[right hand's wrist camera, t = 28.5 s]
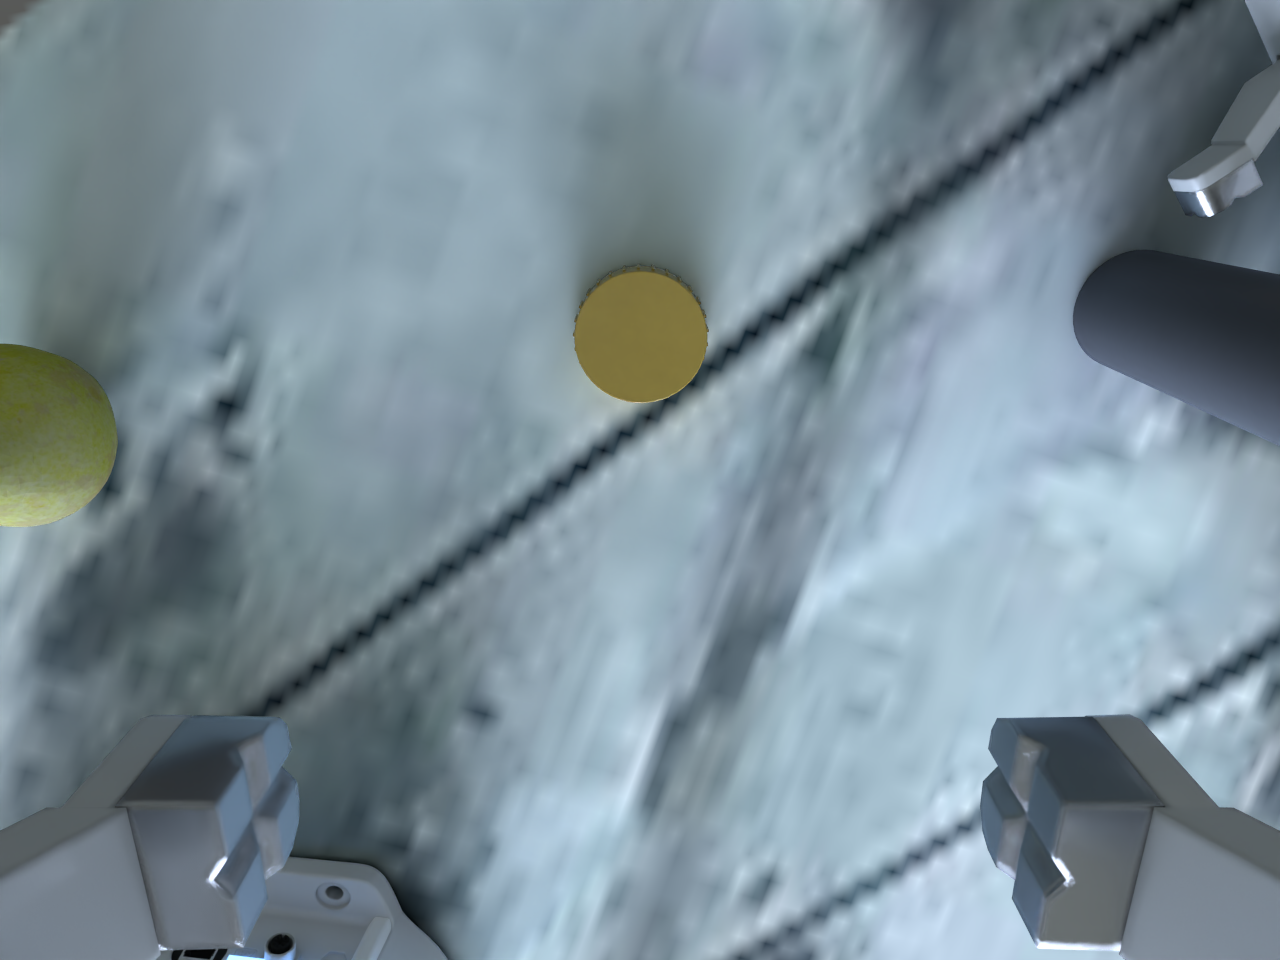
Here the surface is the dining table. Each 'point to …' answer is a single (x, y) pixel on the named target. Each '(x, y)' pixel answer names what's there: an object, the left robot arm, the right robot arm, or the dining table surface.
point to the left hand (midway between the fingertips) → (1242, 316)
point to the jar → (1189, 333)
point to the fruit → (50, 437)
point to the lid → (640, 334)
